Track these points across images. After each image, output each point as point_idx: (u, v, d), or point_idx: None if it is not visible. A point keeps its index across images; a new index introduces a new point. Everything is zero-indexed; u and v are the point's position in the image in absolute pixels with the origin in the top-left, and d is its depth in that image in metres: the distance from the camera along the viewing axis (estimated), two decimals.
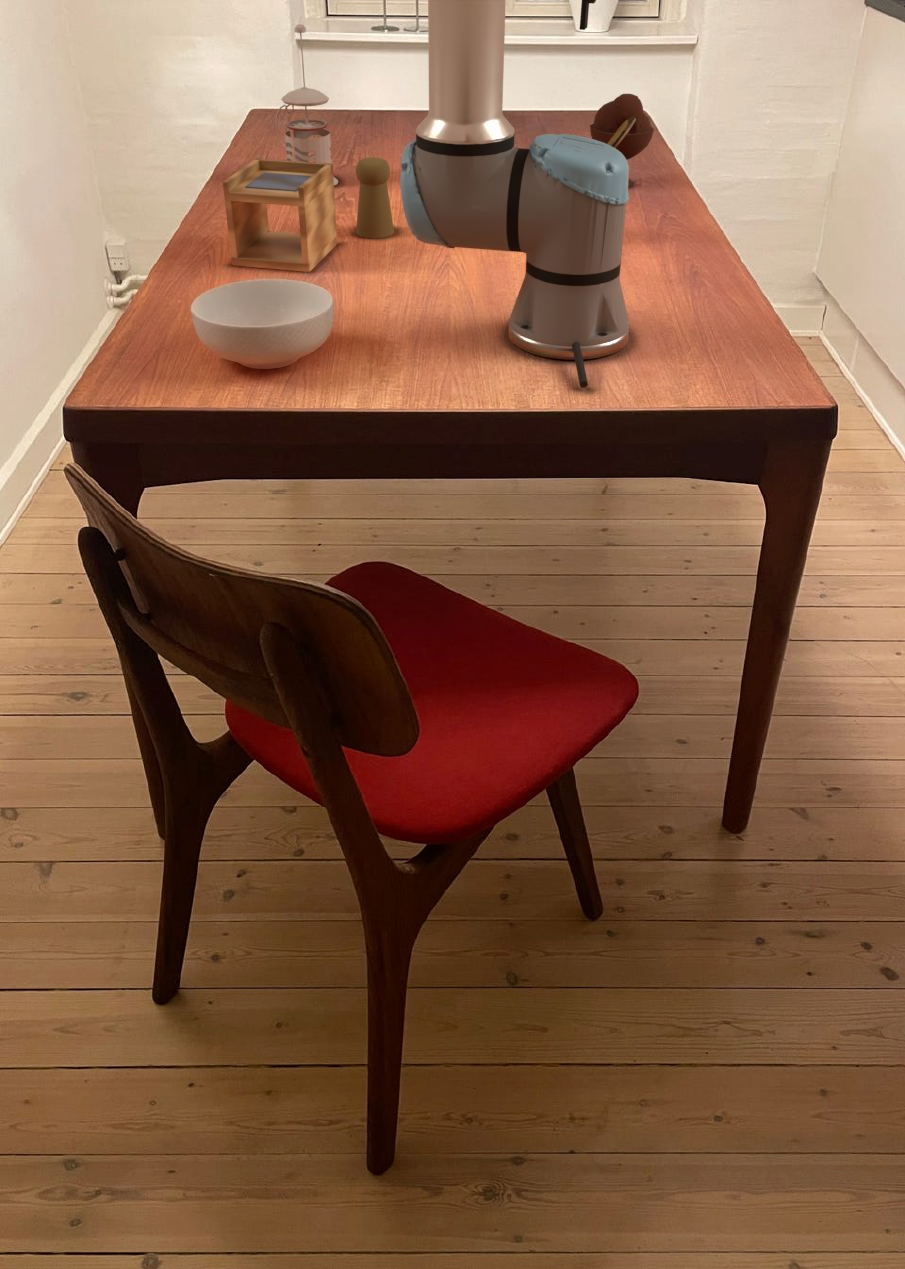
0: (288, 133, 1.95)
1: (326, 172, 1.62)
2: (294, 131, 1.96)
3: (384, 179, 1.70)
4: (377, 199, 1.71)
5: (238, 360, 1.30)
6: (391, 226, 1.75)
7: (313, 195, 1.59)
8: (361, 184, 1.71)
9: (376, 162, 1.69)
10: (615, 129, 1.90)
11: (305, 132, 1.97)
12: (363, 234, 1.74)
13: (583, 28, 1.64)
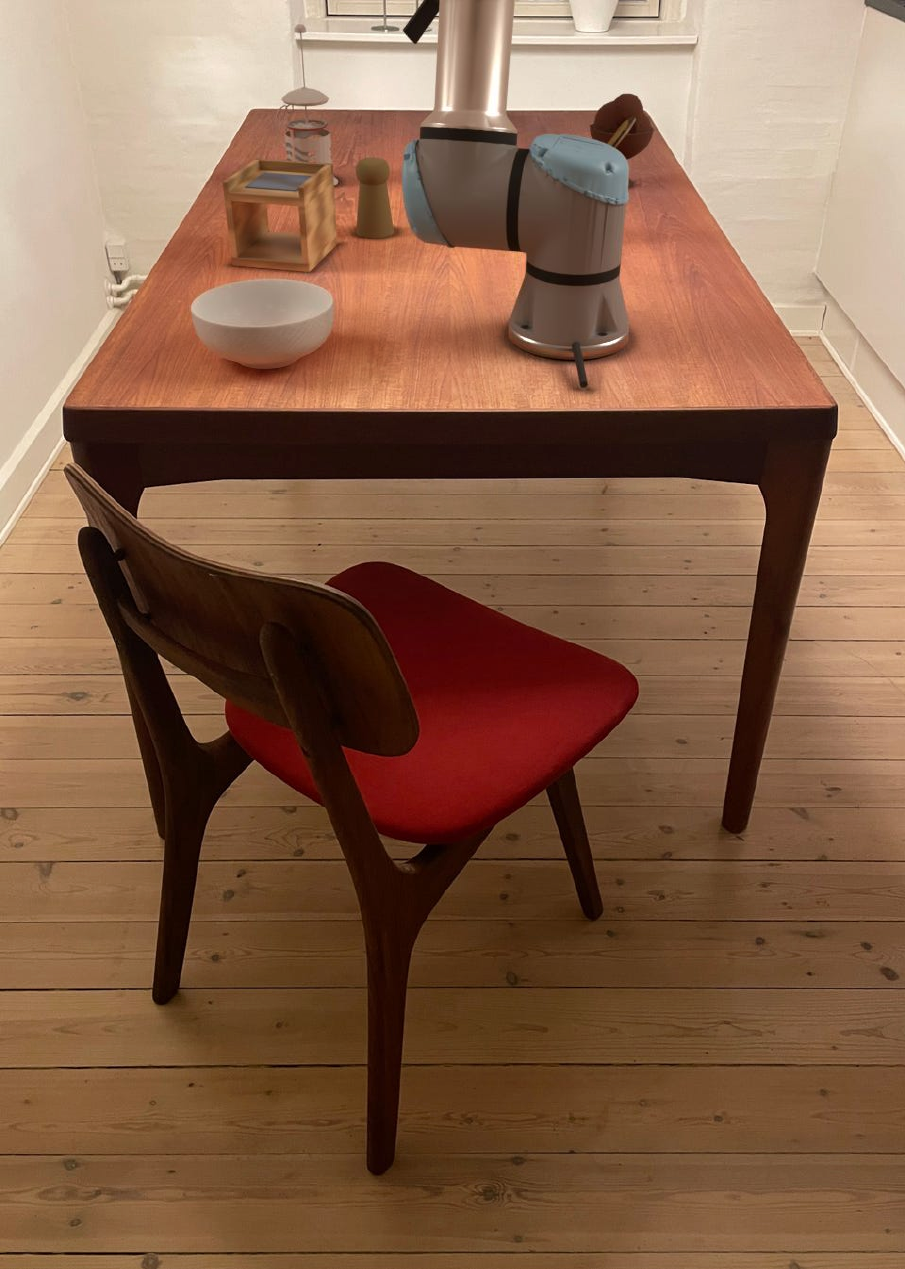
0: (288, 133, 1.95)
1: (326, 172, 1.62)
2: (294, 131, 1.96)
3: (383, 179, 1.70)
4: (377, 199, 1.71)
5: (238, 360, 1.30)
6: (391, 226, 1.75)
7: (313, 195, 1.59)
8: (361, 184, 1.71)
9: (376, 162, 1.69)
10: (615, 129, 1.90)
11: (305, 132, 1.97)
12: (363, 234, 1.74)
13: None
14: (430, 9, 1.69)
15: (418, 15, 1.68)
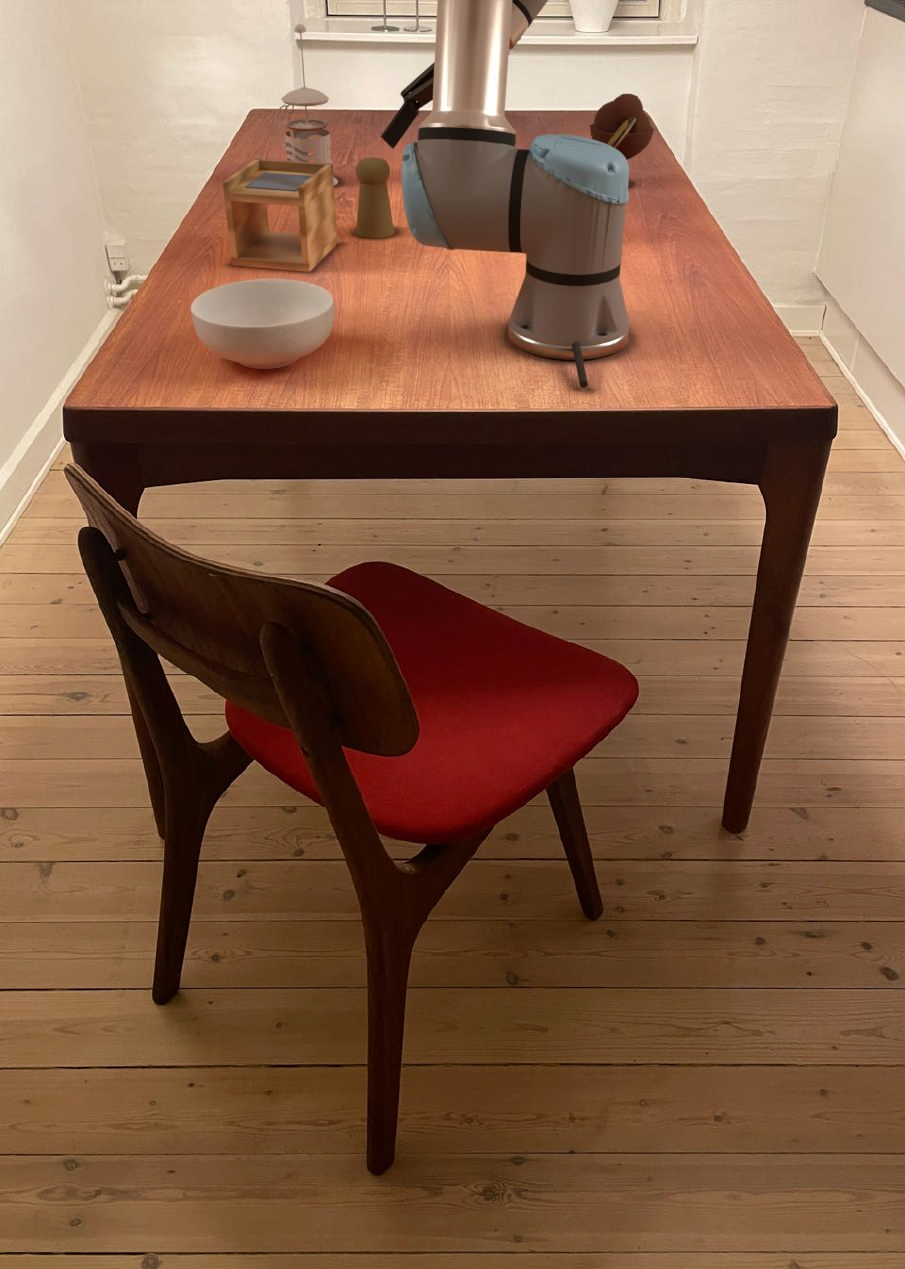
0: (288, 133, 1.95)
1: (326, 172, 1.62)
2: (294, 131, 1.96)
3: (383, 179, 1.70)
4: (377, 199, 1.71)
5: (238, 360, 1.30)
6: (391, 226, 1.75)
7: (313, 195, 1.59)
8: (361, 184, 1.71)
9: (376, 162, 1.69)
10: (615, 129, 1.90)
11: (305, 132, 1.97)
12: (363, 234, 1.74)
13: None
14: (407, 116, 1.76)
15: (395, 122, 1.75)
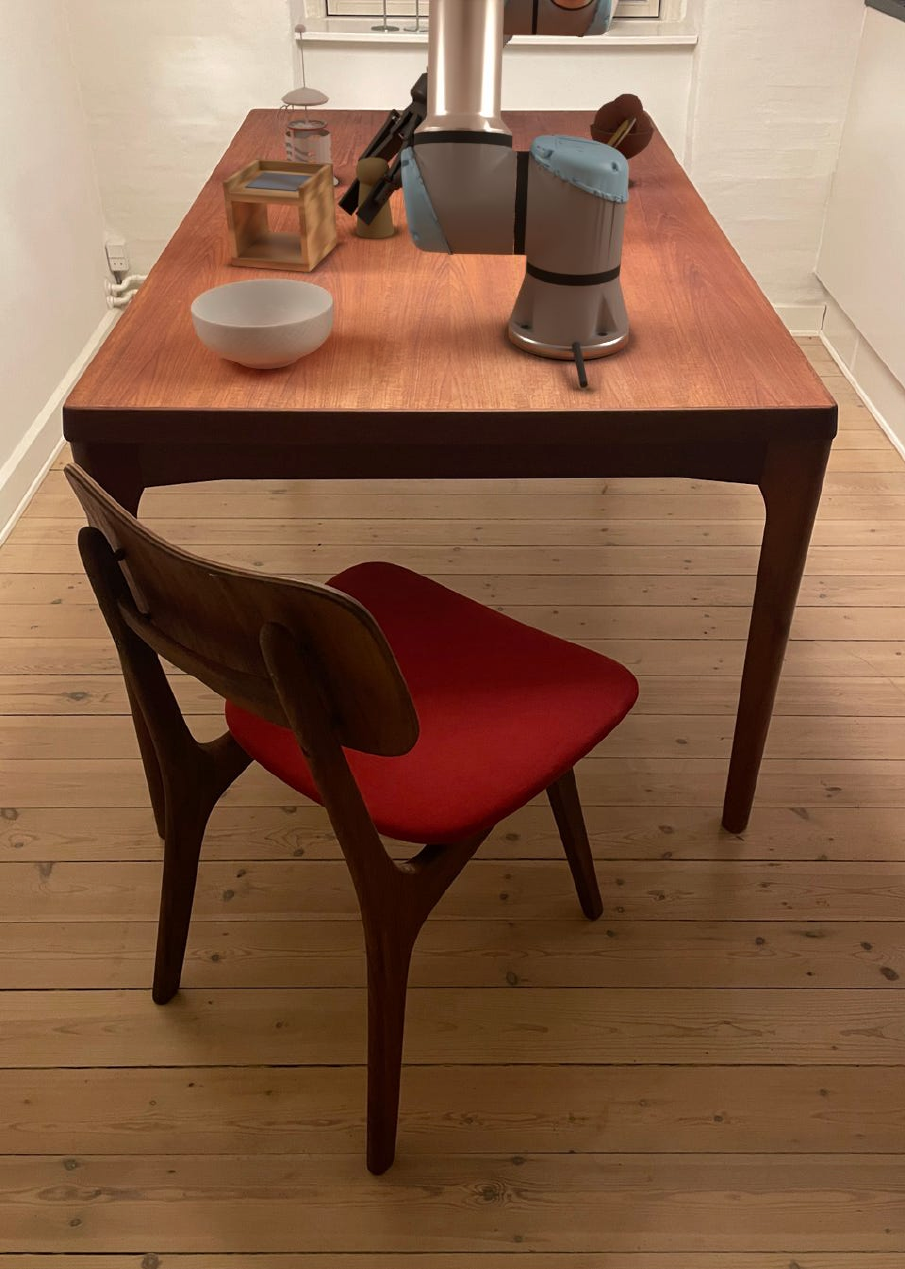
0: (288, 133, 1.95)
1: (326, 172, 1.62)
2: (294, 131, 1.96)
3: (384, 179, 1.70)
4: None
5: (238, 360, 1.30)
6: (391, 226, 1.75)
7: (313, 195, 1.59)
8: (361, 184, 1.71)
9: (376, 162, 1.69)
10: (615, 129, 1.90)
11: (305, 132, 1.97)
12: (363, 234, 1.74)
13: (357, 213, 1.70)
14: None
15: (352, 190, 1.73)
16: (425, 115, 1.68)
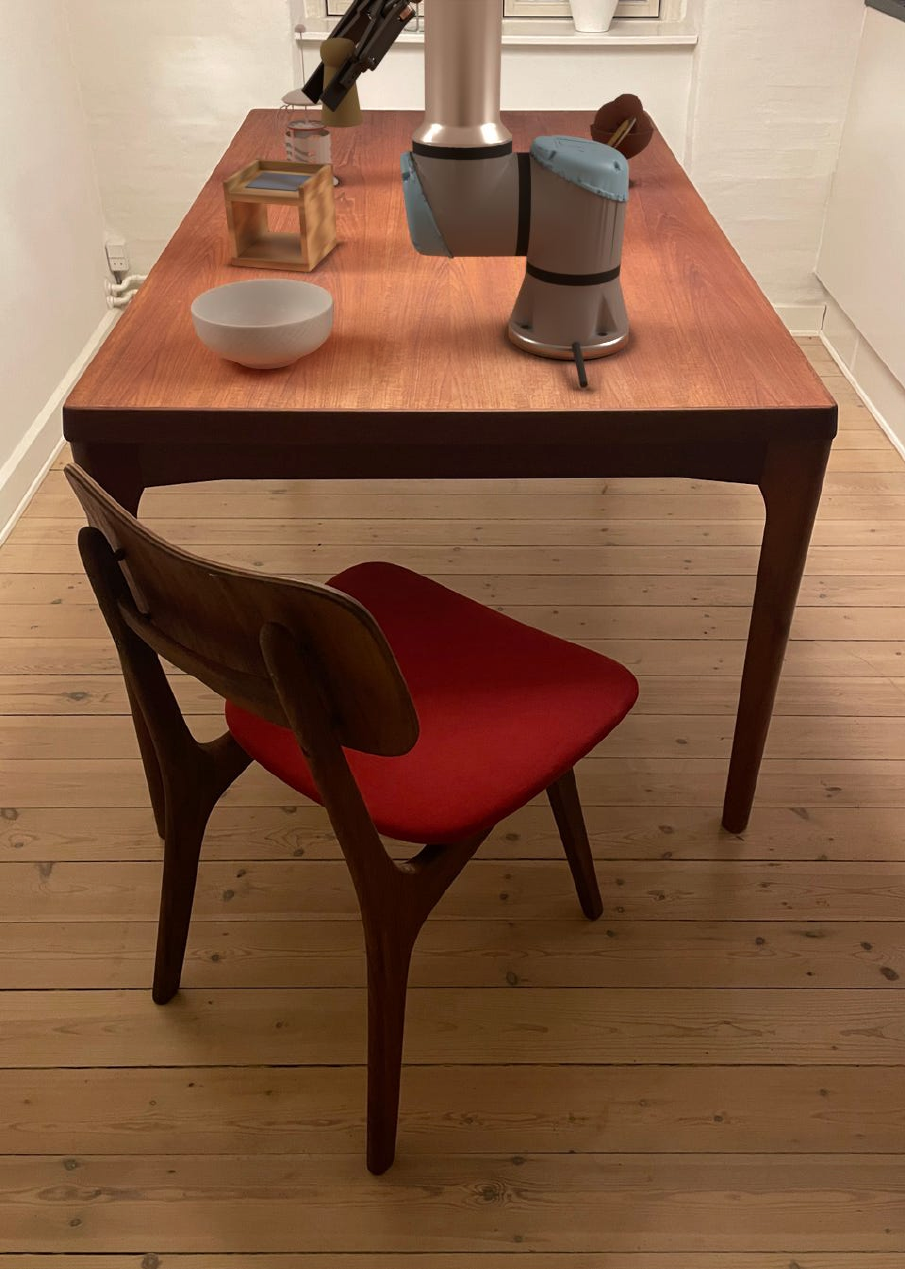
0: (288, 133, 1.95)
1: (326, 172, 1.62)
2: (294, 131, 1.96)
3: (350, 61, 1.57)
4: None
5: (238, 360, 1.30)
6: (359, 115, 1.62)
7: (313, 195, 1.59)
8: (326, 67, 1.58)
9: (341, 41, 1.56)
10: (615, 129, 1.90)
11: (305, 132, 1.97)
12: (328, 123, 1.61)
13: (321, 97, 1.57)
14: None
15: (317, 75, 1.60)
16: None
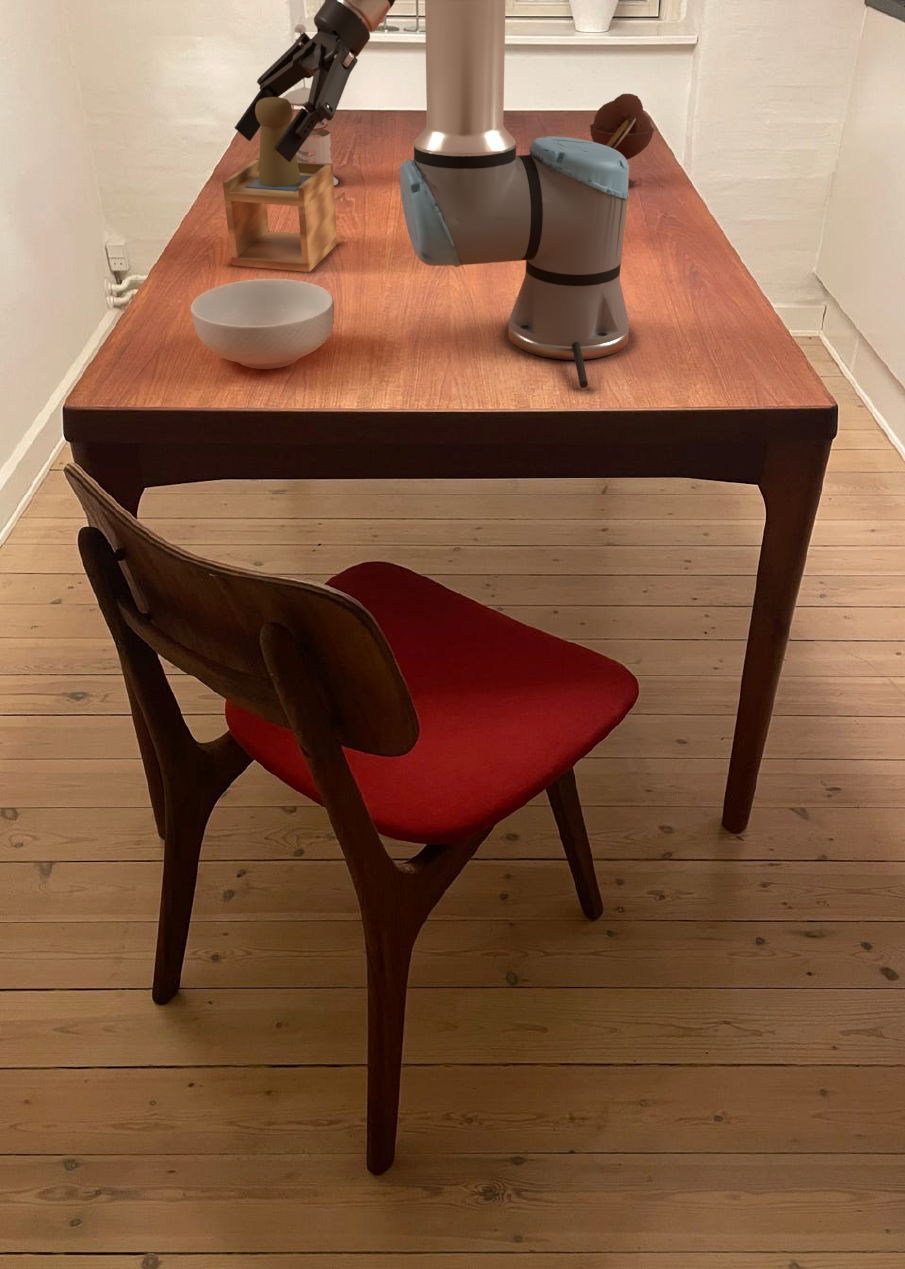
0: None
1: (326, 172, 1.62)
2: None
3: (285, 121, 1.55)
4: None
5: (238, 360, 1.30)
6: (297, 173, 1.60)
7: (313, 195, 1.59)
8: (261, 126, 1.56)
9: (276, 101, 1.54)
10: (615, 129, 1.90)
11: None
12: (265, 182, 1.59)
13: (276, 148, 1.51)
14: None
15: (250, 112, 1.60)
16: (330, 45, 1.53)
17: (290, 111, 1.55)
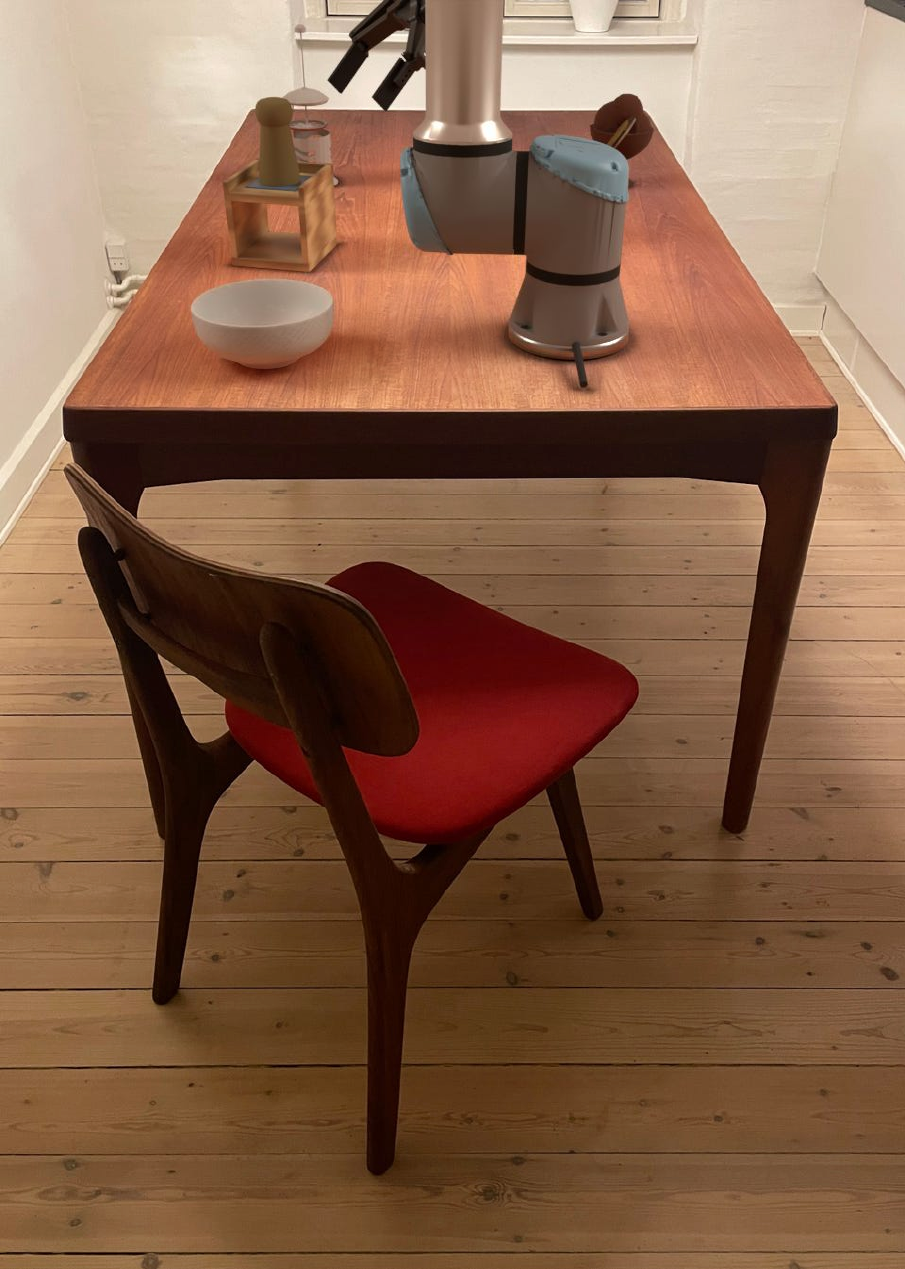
0: None
1: (326, 172, 1.62)
2: (294, 131, 1.96)
3: (285, 121, 1.55)
4: (279, 143, 1.56)
5: (238, 360, 1.30)
6: (297, 173, 1.60)
7: (313, 195, 1.59)
8: (261, 126, 1.56)
9: (276, 101, 1.54)
10: (615, 129, 1.90)
11: (305, 132, 1.97)
12: (265, 182, 1.59)
13: (374, 96, 1.55)
14: (355, 58, 1.64)
15: (343, 64, 1.64)
16: None
17: (290, 111, 1.55)
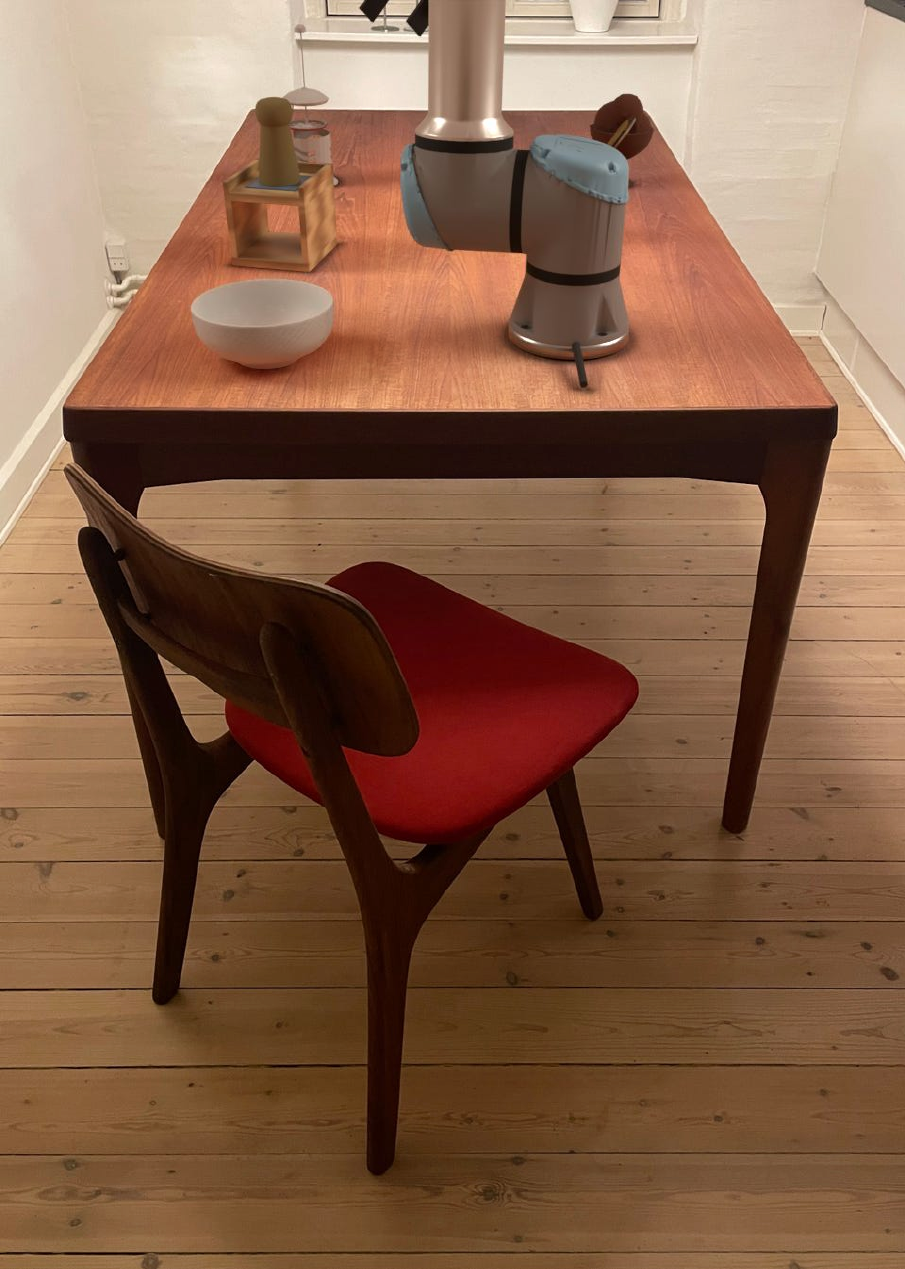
0: None
1: (326, 172, 1.62)
2: (294, 131, 1.96)
3: (285, 121, 1.55)
4: (279, 143, 1.56)
5: (238, 360, 1.30)
6: (297, 173, 1.60)
7: (313, 195, 1.59)
8: (261, 126, 1.56)
9: (276, 101, 1.54)
10: (615, 129, 1.90)
11: (305, 132, 1.97)
12: (265, 182, 1.59)
13: (408, 20, 1.51)
14: None
15: None
16: None
17: (290, 111, 1.55)
